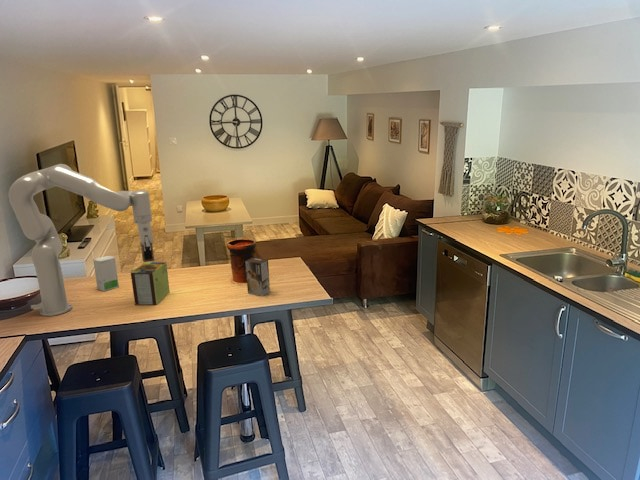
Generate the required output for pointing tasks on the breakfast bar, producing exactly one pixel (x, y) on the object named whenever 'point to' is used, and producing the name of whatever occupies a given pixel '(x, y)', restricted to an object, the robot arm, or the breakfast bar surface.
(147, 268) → the protein box
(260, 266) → the coffee box
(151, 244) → the walnut block
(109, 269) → the skincare box
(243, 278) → the vessel
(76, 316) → the breakfast bar surface
